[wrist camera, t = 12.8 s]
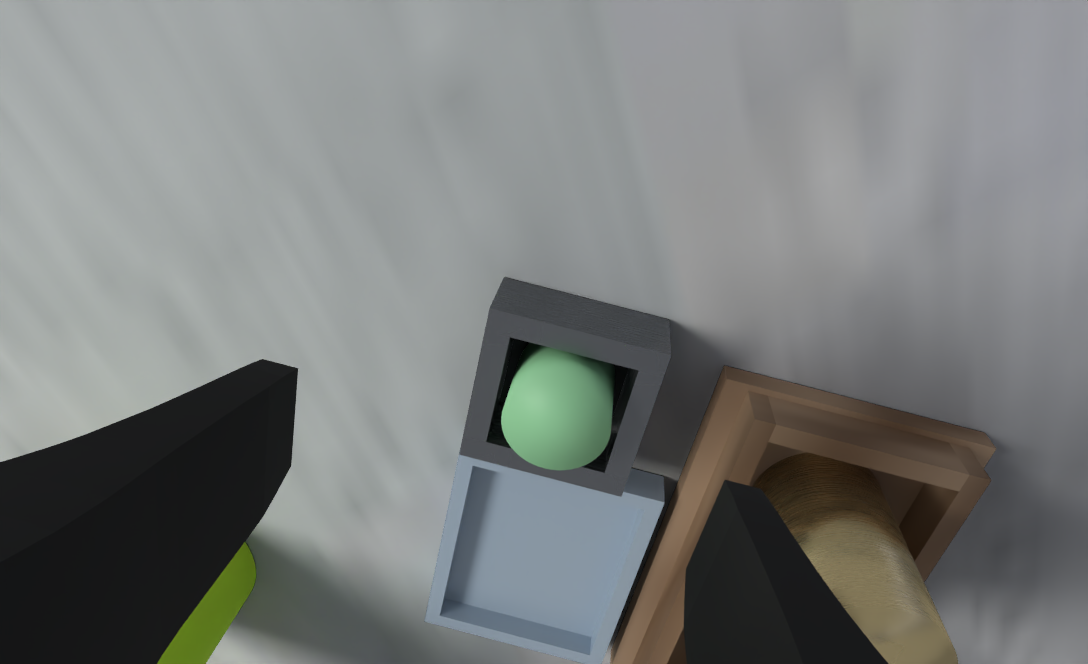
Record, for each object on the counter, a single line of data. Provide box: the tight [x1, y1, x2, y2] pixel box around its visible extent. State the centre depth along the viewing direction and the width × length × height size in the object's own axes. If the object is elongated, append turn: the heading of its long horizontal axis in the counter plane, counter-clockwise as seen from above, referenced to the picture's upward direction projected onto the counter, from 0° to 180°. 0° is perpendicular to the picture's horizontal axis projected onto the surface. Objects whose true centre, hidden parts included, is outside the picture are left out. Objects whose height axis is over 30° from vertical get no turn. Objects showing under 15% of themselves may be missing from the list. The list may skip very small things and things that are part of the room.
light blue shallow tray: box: [424, 448, 665, 664], centre depth 25 cm, size 7×8×1 cm
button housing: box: [459, 277, 671, 497], centre depth 21 cm, size 5×5×2 cm
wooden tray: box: [610, 366, 996, 664], centre depth 23 cm, size 8×13×2 cm, turn 167°
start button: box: [501, 343, 615, 470], centre depth 21 cm, size 3×3×3 cm
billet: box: [753, 452, 958, 664], centre depth 19 cm, size 4×4×7 cm
